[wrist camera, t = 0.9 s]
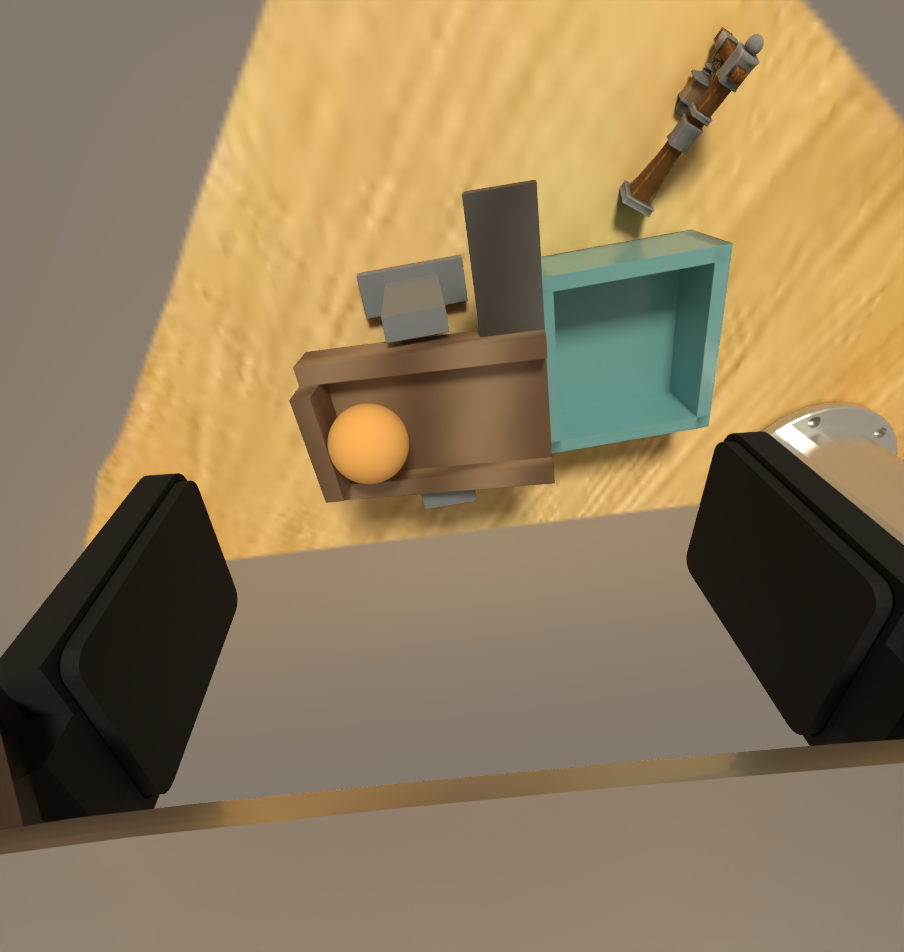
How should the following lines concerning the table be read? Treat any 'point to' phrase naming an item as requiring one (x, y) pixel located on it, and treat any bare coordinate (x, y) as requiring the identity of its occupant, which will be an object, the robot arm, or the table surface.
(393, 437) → the ball
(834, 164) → the table surface
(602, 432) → the teal open box
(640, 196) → the wooden post with brackets
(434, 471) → the lever
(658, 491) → the table surface
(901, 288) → the table surface
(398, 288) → the lever stand
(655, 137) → the table surface
